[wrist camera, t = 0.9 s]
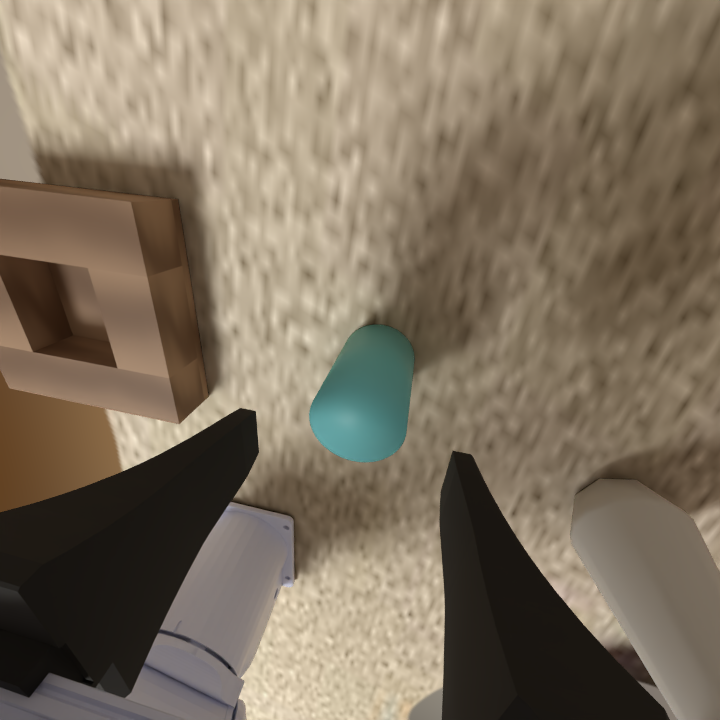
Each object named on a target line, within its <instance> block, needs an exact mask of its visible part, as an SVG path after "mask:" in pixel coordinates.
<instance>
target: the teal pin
mask: <svg viewBox="0 0 720 720" xmlns="http://www.w3.org/2000/svg"><path fill="white" fill-rule="evenodd" d="M414 360H415V358H414V351H413V348H412V346H411V344H410V342H409V341H408V339H407V338H406V337H405V336H404V335H403V334H402V333H401V332H399V331H398V330H396V329H394V328H392V327H389V326H385V325H379V324H375V325H368V326H364V327H362V328H360V329H358V330H356V331H355V332H354V333H353V334H352V335H351V336H350V337H349V338H348V340H347V342H346V343H345V345H344V347H343V349H342V350H341V352H340V354H339V356H338V358H337V359H336V361H335V363H334V365H333V366H332V368H331V370H330V372H329V374H328V375H327V377H326V379H325V381H324V382H323V384H322V386H321V388H320V390H319V391H318V393H317V395H316V397H315V398H314V400H313V402H312V405H311V408H310V413H309V419H310V425H311V428H312V430H313V432H314V434H315V436H316V437H317V439H318V440H319V441H320V443H321V444H322V445H323V446H324V447H326V448H327V449H328V450H329V451H331V452H332V453H334V454H336V455H338V456H340V457H342V458H345V459H347V460H351V461H356V462H374V461H379V460H383V459H385V458H387V457H389V456H391V455H392V454H394V453H395V452H396V451H397V450H398V449H399V448H400V447H401V445H402V444H403V442H404V440H405V437H406V431H407V422H408V414H409V405H410V396H411V387H412V378H413V369H414Z"/></svg>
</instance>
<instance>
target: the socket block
mask: <svg viewBox="0 0 720 720" xmlns="http://www.w3.org/2000/svg"><path fill="white" fill-rule="evenodd" d="M0 370H1V372H2V374H3V376H4V378H5V380H6V382H7V384H8V386H9V388H11V389H16V390H21V391H26V392H30V393H35V394H40V395H44V396H49V397H54V398H59V399H63V400H68V401H73V402H78V403H82V404H87V405H91V406H96V407H101V408H106V409H110V410H115V411H120V412H124V413H129V414H134V415H139V416H143V417H148V418H153V419H158V420H162V421H167V422H172V423H176V424H180V423H181V422H182V421H183V420H184V419H185V418H186V417H187V416H188V415H189V414H190V413H192V412H193V411H194V410H195V409H196V408H197V407H198V406H199V405H200V404H201V403H202V402H203V401H204V400H205V399H207V398H208V397H209V395H208V388H207V382H206V375H205V369H204V363H203V356H202V350H201V343H200V337H199V330H198V324H197V318H196V311H195V305H194V298H193V292H192V286H191V279H190V273H189V266H188V260H187V254H186V247H185V241H184V234H183V228H182V222H181V215H180V209H179V202H178V199H171V198H162V197H154V196H145V195H136V194H128V193H119V192H110V191H101V190H93V189H84V188H75V187H67V186H58V185H49V184H41V183H32V182H23V181H15V180H6V179H0Z"/></svg>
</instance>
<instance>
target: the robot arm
mask: <svg viewBox="0 0 720 720" xmlns="http://www.w3.org/2000/svg"><path fill="white" fill-rule="evenodd" d="M258 453H259V447H258V434H257V422H256V411H252V410H247V409H242V408H240V409H238V410H236V411H234V412H233V413H231V414H229V415H228V416H226V417H224V418H223V419H221V420H219V421H218V422H216V423H214V424H213V425H211V426H209V427H208V428H206V429H204V430H203V431H201V432H199V433H198V434H196V435H194V436H192V437H191V438H189V439H187V440H185V441H184V442H182V443H180V444H178V445H176V446H174V447H172V448H171V449H169V450H167V451H165V452H163V453H161V454H159V455H157V456H155V457H153V458H151V459H149V460H147V461H145V462H143V463H141V464H139V465H136V466H134V467H132V468H130V469H128V470H125V471H123V472H121V473H118V474H116V475H113V476H111V477H108V478H105V479H103V480H100V481H98V482H95V483H93V484H90V485H87V486H85V487H82V488H79V489H77V490H73V491H71V492H68V493H65V494H62V495H59V496H56V497H52V498H49V499H46V500H43V501H40V502H36V503H33V504H30V505H26V506H22V507H19V508H15V509H11V510H8V511H4V512H0V720H247V719H246V708H245V703H244V701H243V700H240V699H238V698H239V695H240V692H241V690H242V687H243V685H244V680H242V679H241V677H242V676H243V674H244V673H245V672H246V670H247V669H248V668H249V666H250V665H251V663H252V661H253V659H254V657H255V654H256V652H257V649H258V646H259V644H260V641H261V639H262V636H263V633H264V631H265V628H266V625H267V623H268V620H269V618H270V615H271V612H272V610H273V607H274V605H275V602H276V599H277V597H278V594H279V591H280V589H281V586H282V585H283V586H286V587H292V586H293V584H294V521H293V519H292V517H290V516H288V515H283V514H279V513H275V512H271V511H267V510H263V509H258V508H254V507H250V506H246V505H242V504H238V503H233V502H231V501H232V499H233V498H234V496H235V495H236V493H237V491H238V490H239V488H240V487H241V485H242V484H243V482H244V481H245V479H246V478H247V476H248V474H249V472H250V470H251V468H252V466H253V464H254V462H255V460H256V458H257V455H258ZM440 536H441V550H442V564H443V578H444V593H445V638H444V677H443V705H442V720H670V719H669V717H668V715H667V713H666V711H665V709H664V708H663V707H662V706H661V705H660V704H659V703H658V702H657V701H656V700H655V699H654V698H653V697H652V696H651V695H650V694H649V693H648V692H647V691H646V690H645V689H644V688H643V687H642V686H641V685H640V684H639V683H638V682H637V681H636V680H635V679H634V678H633V677H632V676H631V675H630V674H629V673H628V672H627V671H626V670H625V669H624V668H623V667H622V666H621V665H620V664H619V663H618V662H617V661H616V660H615V659H614V658H613V656H612V655H611V654H610V653H609V652H608V651H607V650H606V649H605V648H604V647H603V646H602V645H601V643H600V642H599V641H598V640H597V639H596V638H595V637H594V636H593V635H592V634H591V632H590V631H589V630H588V629H587V628H586V627H585V626H584V625H583V623H582V622H581V621H580V620H579V619H578V618H577V616H576V615H575V614H574V613H573V612H572V610H571V609H570V608H569V607H568V606H567V604H566V603H565V602H564V601H563V600H562V598H561V597H560V596H559V595H558V594H557V592H556V591H555V590H554V589H553V587H552V586H551V585H550V583H549V582H548V581H547V580H546V578H545V577H544V576H543V574H542V573H541V572H540V570H539V569H538V567H537V566H536V565H535V563H534V562H533V561H532V559H531V558H530V556H529V555H528V553H527V552H526V551H525V549H524V548H523V546H522V545H521V543H520V542H519V540H518V539H517V537H516V535H515V534H514V532H513V531H512V529H511V527H510V526H509V524H508V523H507V521H506V519H505V518H504V516H503V514H502V512H501V511H500V509H499V507H498V505H497V503H496V502H495V500H494V498H493V496H492V494H491V493H490V491H489V489H488V487H487V485H486V483H485V481H484V479H483V477H482V475H481V473H480V471H479V469H478V467H477V464H476V462H475V460H474V458H473V456H472V455H471V454H466V453H461V452H456V451H453V452H452V455H451V459H450V462H449V466H448V469H447V472H446V476H445V479H444V483H443V486H442V490H441V498H440Z"/></svg>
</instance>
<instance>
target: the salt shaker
mask: <svg viewBox="0 0 720 720" xmlns="http://www.w3.org/2000/svg"><path fill="white" fill-rule="evenodd" d="M570 538H571V544H572V546H573V547H574V549H575V551H576V553H577V554H578V556H579V558H580V559H581V561H582V563H583V564H584V566H585V568H586V569H587V571H588V573H589V574H590V576H591V578H592V579H593V581H594V583H595V584H596V586H597V588H598V589H599V591H600V593H601V594H602V596H603V597H604V599H605V601H606V602H607V604H608V606H609V607H610V609H611V611H612V612H613V614H614V616H615V617H616V619H617V621H618V622H619V624H620V626H621V627H622V629H623V631H624V632H625V634H626V635H627V637H628V639H629V640H630V642H631V644H632V645H633V647H634V649H635V650H636V652H637V654H638V655H639V657H640V659H641V660H642V662H643V664H644V665H645V667H646V669H647V670H648V672H649V674H650V675H651V677H652V678H653V680H654V682H655V683H656V685H657V687H658V688H659V690H660V692H661V693H662V695H663V697H664V698H665V700H666V702H667V703H668V705H669V706H670V708H671V710H672V711H673V713H674V715H675V716H676V718H677V720H720V572H719V570H718V568H717V566H716V564H715V562H714V560H713V558H712V556H711V554H710V552H709V550H708V548H707V546H706V544H705V542H704V540H703V538H702V536H701V534H700V532H699V530H698V528H697V526H696V524H695V522H694V520H693V519H692V518H691V517H690V516H689V515H688V514H687V513H686V512H685V511H684V510H683V509H681V508H679V507H678V506H676V505H674V504H673V503H671V502H670V501H668V500H666V499H665V498H663V497H662V496H660V495H659V494H657V493H656V492H654V491H652V490H651V489H649V488H648V487H646V486H645V485H643V484H642V483H640V482H639V481H637V480H629V479H598V480H597V481H595V482H594V483H592V484H591V485H589V486H588V487H586V488H585V489H583V490H582V491H580V492H579V493H577V494H576V495H575V498H574V506H573V515H572V523H571V531H570Z"/></svg>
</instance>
